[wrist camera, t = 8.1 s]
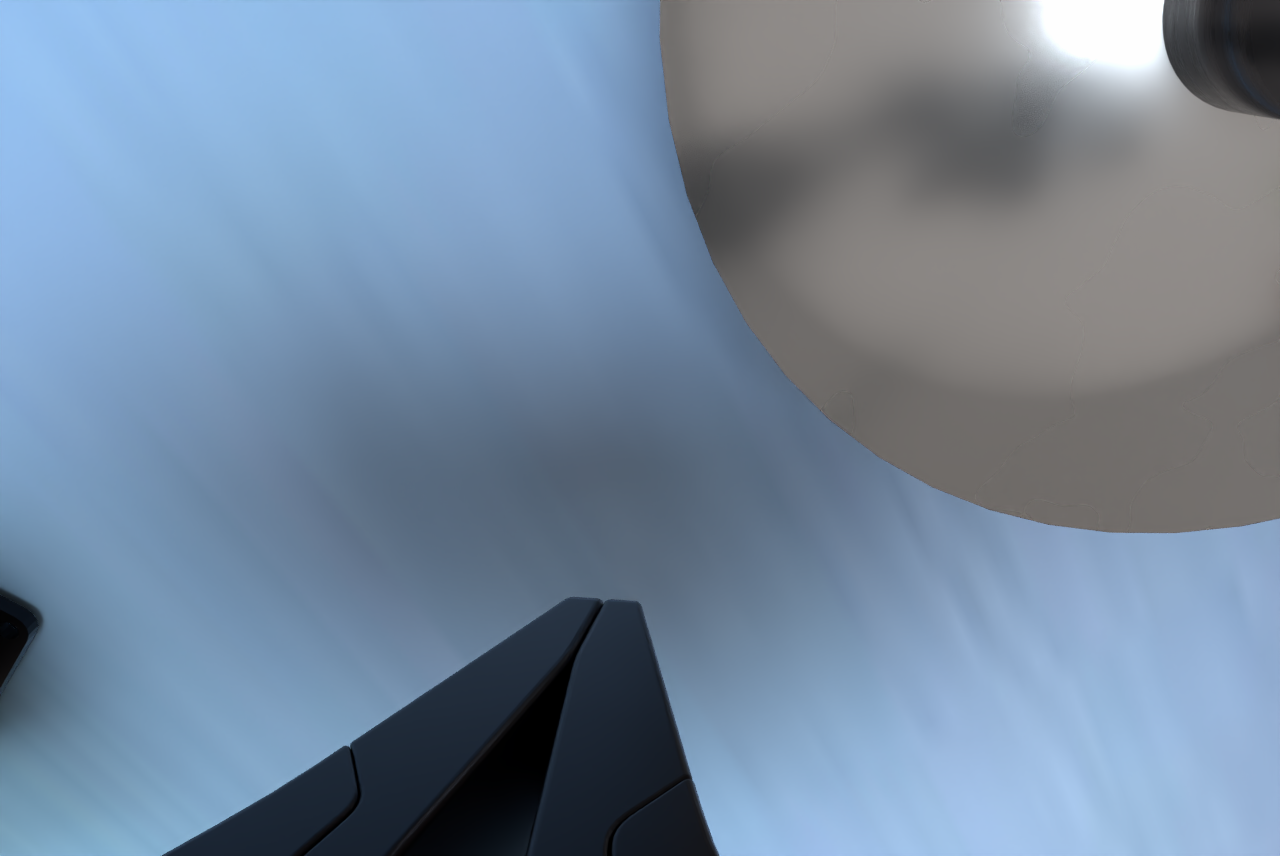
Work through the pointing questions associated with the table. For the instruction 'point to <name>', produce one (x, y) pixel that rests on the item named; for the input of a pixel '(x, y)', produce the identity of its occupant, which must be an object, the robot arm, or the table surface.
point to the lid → (1006, 237)
